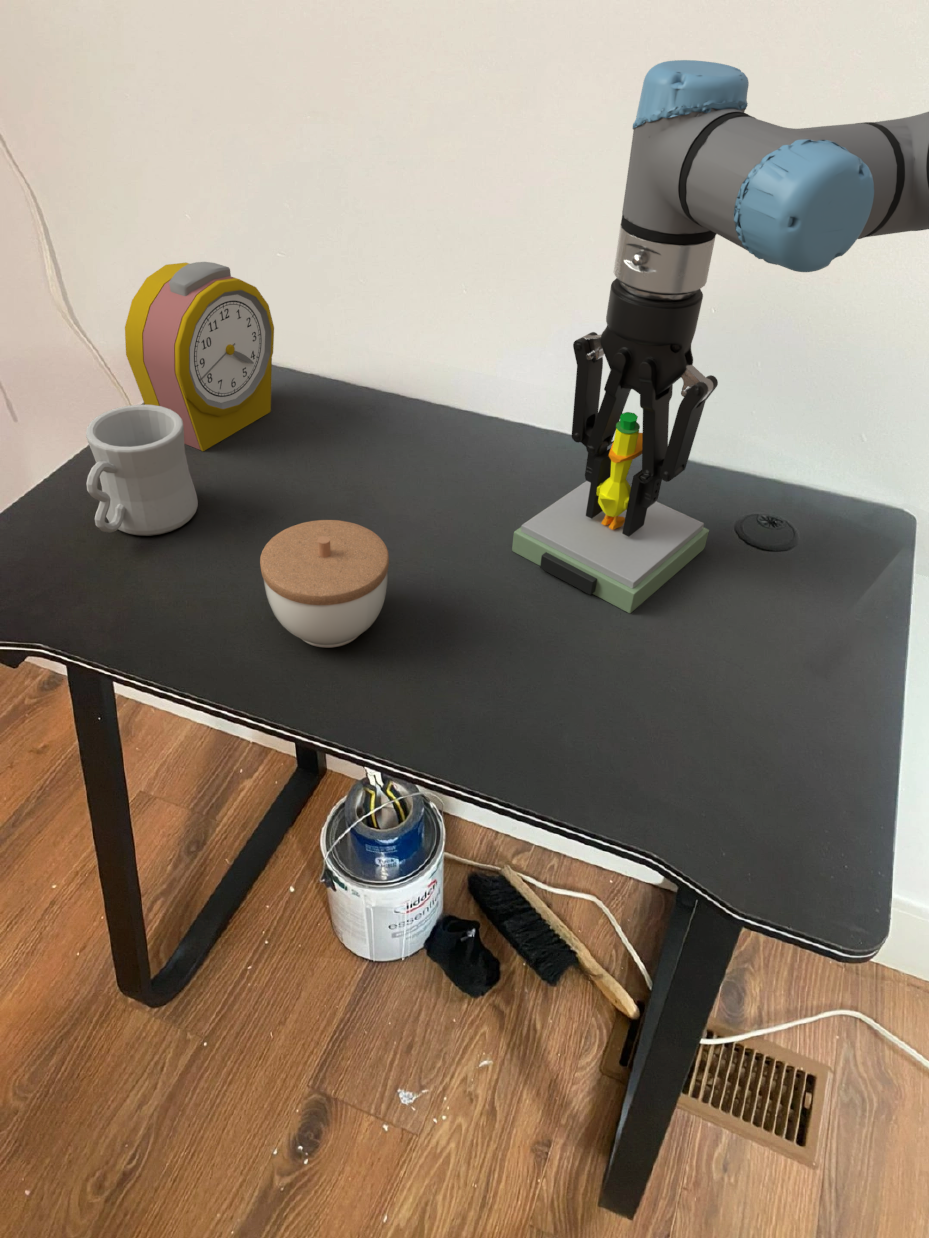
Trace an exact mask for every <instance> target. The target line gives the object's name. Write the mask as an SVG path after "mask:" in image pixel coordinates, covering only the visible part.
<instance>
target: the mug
mask: <svg viewBox="0 0 929 1238" xmlns="http://www.w3.org/2000/svg"><path fill="white" fill-rule="evenodd" d="M85 437H86V440H87V443H88V445H89V448H90V450H91V453H92V455H93V458H94V460H95V464H94V465H93V466H92V467H91V469H90V471H89V473H88V474H87V479H86V491H87V492H88V495H90V497H91V498H93V499H94V500H97V501H99V503H98V507H97V508H96V512H95V516H94V524H95V526H96V527H97V528H98V529H99V530H100V531H101V532H104V533H113V532H117V531H118V530H119V531H120V532H123V533H125V534H127V535H133V536H143V537H145V536H146V537H148V536H149V537H150V536H157V535H163V534H167V533H169V532H173V531H175V530H177V529H179V528H182V527H183V526H184V525H186V524H187V523H189V521H190V520H191V519H192V518H193V517H194V516H195V514H196V512H197V509H198V506H199V504H198V503H199V500H198V495H197V492H196V488H195V486H194V482H193V478H192V476H191V473H190V469H189V465H188V464H189V463H188V461H187V460H188V459H187V455H186V450H185V449H186V448H185V444H184V427H183V421H182V419H181V418H180V416H179V415H178V414H177V413H175V412H174V411H172V410H170V409H168V408H165V407H162V406H155V405H145V404H130V405H129V404H128V405H124V406H120V407H115V408H113V409H109V410H107V411H104V412H103V413H101V414H98V415H97V416H96V417H94V418H93V419H92V420H91V421H90V422H89V424H88V425H87V427H86V429H85ZM99 480H100V485H101V490H100V489H98V488H99V487H98V484H99ZM106 519H107V521H108V522H106Z"/></svg>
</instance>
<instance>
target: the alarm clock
mask: <svg viewBox="0 0 929 1238" xmlns="http://www.w3.org/2000/svg"><path fill="white" fill-rule="evenodd" d="M269 305H270V304H269V303H268V302H267V301H266V299H265V297H264V296H263V295H262V294H261V292H260V290H258V288H257V287H256V286H255V285H253V284H251V283H248V282H246V281H244V280H242V279H240V278H237V277H234V276H232V274H231V268H230V267H229V266H226V265H223V264H219V263H216V262H212V261H211V262H210V261H196V262H191V263H189V262H179V263H169V264H165V265H163V266H161V267H160V268H158V269H157V270H156V271H155V272H153V273H151V274H150V275H148V276H147V277H146V278H145V279H144V281H143V283H142V284H141V286H140V287H139V289H138V290H137V292H136V293H135V295H134V296H133V298H132V299H131V303H130V306H129V310H128V314H127V317H126V320H125V321H126V322H125V325H124V339H125V357H126V359H127V361H128V364H129V366H130V369H131V372H132V375H133V377H134V380H135V383H136V385H137V388H138V390H139V393H140V396H141V398H142V400H143V403H144V404H143V405H155V406H162V407H165V408H168V409H170V410H172V411H174V412H175V413H177V414H178V415H179V416H180V418H181V419H182V421H183V427H184V445H186V446H189V447H192V448H194V449H195V450H196V449H197V450H199V451H201V452H205V451H206V450H208V449H210V448H211V447H213V446H215V445H216V444H218V443H220V442H222V441H223V440H225V439H227V438H228V437H230V436H232V435H234V434H236V433H238V432H239V431H240V430H242V429H244V428H246V427H247V426H249V425H251V424H253V423H254V422H256V421H257V420H259V419H261V418H263V417H264V416H266V415H268V414H270V413H271V412H272V375H273V374H272V371H273V369H272V368H273V367H272V366H273V365H272V364H273V354H274V346H275V345H274V341H275V325H274V322H273V317H272V313H271V309H270V306H269Z"/></svg>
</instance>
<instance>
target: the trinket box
mask: <svg viewBox="0 0 929 1238" xmlns="http://www.w3.org/2000/svg"><path fill="white" fill-rule="evenodd" d="M259 564H260V565H259V566H260V571H261V572H260V573H261V576H262V578H263V584H264V589H265V595H266V598H267V602H268V604H269V606H270V608H271V611H272V613H273V616H274V617H275V618H276V619H277V621H278V623H279V624H280V625H281V626H282V627H283V628H284V629H285V630H286V631H287V632H289V634H291V635H293V636H294V637H296V638H298V639H300V640H302V641H303V642H304V643H306V644H308V645H311V646H314V647H318V648H337V647H342V646H345V645H347V644H349V643H352V642H353V641H354V640H356V639H357V638H358V637H359V636H360V635H361V634H363V633H364V632H366V631H367V630H368V629H369V628H371V626H372V625H373V624H374V623H375V622H376V620H377V618H378V617H379V615H380V613H381V611H382V608H383V606H384V603H385V600H386V595H387V588H388V579H389V575H388V574H389V573H388V572H389V567H390V556H389V549H388V547H387V544H385V542H384V541H383V539H382V538H381V537H380V536H379V535H378V534H376V533H375V532H374V531H372V530H371V529H369V528H367V527H365V526H362V525H360V524H358V523H354V522H350V521H345V520H340V519H339V520H338V519H318V520H310V521H305V522H301V523H298V524H296V525H292V526H289V527H287V528H285V529H283V530H281V531H280V532H278V533H277V534H275V535H274V536H273V537H271V539H269V541H268V542H267V543H266V544H265V546H264V548H263V549H262V551H261V554H260V558H259Z"/></svg>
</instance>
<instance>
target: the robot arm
mask: <svg viewBox="0 0 929 1238" xmlns="http://www.w3.org/2000/svg"><path fill="white" fill-rule="evenodd" d="M749 86H750V85H749V78H748V77H747V75H746V73H745V72H743V71H742V70H741V69H740V68H738V67H735V66H732V65H729V64H724V63H719V62H715V61H706V60H691V59H681V60H679V59H677V60H675V59H674V60H667V61H663V62H659V63H657V64H655V65H653V66H652V67H651V68H650V69H649V70H648V71H647V73H646V74H645V76H644V78H643V82H642V88H641V93H640V97H639V102H638V107H637V111H636V116H635V120H634V122H633V123H632V131H633V133H632V138H631V139H632V140H631V145H630V152H629V153H630V154H629V159H628V167H627V168H628V169H627V175H626V182H625V190H624V197H623V204H622V210H621V221H620V225H619V232H618V237H617V245H616V252H615V259H614V266H613V274H614V277H615V279H614V280H613V281H612V282H611V284H610V290H609V295H608V301H607V310H606V318H605V322H606V327H605V329H603V331H602V332H601V334H598V333H597V332H595V331H592V332H589V333H587V334H585V335H583V336H581V337H579V338H578V339H576V340H574V342H573V343H572V348H573V353H574V358H575V362H576V374H575V375H576V376H575V386H574V389H575V390H574V398H573V399H574V400H573V413H572V423H571V425H572V426H571V438H572V441H574V442H575V443H577V444H578V443H581V444H582V445H584V447H585V448H586V452H587V458H586V464H585V465H586V466H585V471H584V478H585V482H586V481H588V482H590V483H591V485H590V491H589V497H588V504H587V510H586V516H587V517H589V518H591V519H592V518H594V517H595V516H596V515H598V514H599V513H601V512H602V511H603V510H602V508H601V507H600V505H599V503H598V499H599V496H597V493H596V492H597V487H598V486H599V484H600V483H603V482H604V481H606V480H607V479H608V478H609V477H610V476H611V459H610V457H609V452H610V449H611V447H610V448H609V446H612V443H613V442H614V437H615V432H616V424H617V423H618V422H619V421H620V416H621V414H622V413H624V410H625V406H626V404H627V402H628V399H629V397H630V393H631V390H633V391H635V392H636V393H637V394H639V407H640V408H641V409H642V433H643V434H642V454H641V470H639V471H638V472H637V473H635V474H633V476H632V481H631V485H630V486H631V491H630V496H629V501H628V506H627V511H626V517H625V522H624V527H623V532H622V534H624V535H626V536H628V537H629V536H630V535H632V534H633V533H634V532H636V531H637V530H638V529H639V528H641V527H642V526H643V525H644V522H645V517H646V512H647V508H649V507H650V506H651V505H652V504H654V503H655V502H658V500H659V496H660V495H659V494H660V490H661V487H662V481H664V482H667V483H668V482H670V481H672V480H674V479H676V477H677V476H679V475H680V474H681V473H682V472H684V471H685V470H686V469H687V468H686V467H687V464H688V462H689V458H690V455H691V451H692V447H693V445H694V442H695V438H696V435H697V431H698V427H699V424H700V421H701V418H702V414H703V411H704V407H705V405H706V402H707V400H708V399H709V397H710V396H711V395H712V394H713V393H714V391H715V390H716V389H717V387H718V385H719V380H718V379H717V377H716V376H714V375H711V374H710V375H707V376H705V375H704V374H703V373H702V372H701V371H699V370H698V368H697V367H695V366H694V357H693V352H692V343H693V340H694V337H695V334H696V331H697V325H698V321H699V317H700V312H701V308H702V304H703V298H704V294H703V291H702V288H703V287H705V286H706V284H707V282H708V278H709V277H708V276H709V272H710V267H711V262H712V256H713V251H714V247H715V240H716V236H717V235H718V236H720V237H722V238H724V239H726V241H729V242H731V243H733V244H735V245H737V246H738V247H740V248H742V249H744V250H745V251H747V252H748V253H749V254H751V255H753V256H754V257H755V258H756V259H758V260H763V261H764V262H765V263H768V264H771V265H775V266H780V267H783V268H785V269H787V270H790V271H793V272H797V273H813V272H818V271H820V270H823V269H824V268H827V267H829V266H830V264H831V263H832V261H833V260H835V259H836V258H838V257H842V256H844V255H845V254H846V253H847V252H849V250H850V249H851V248H852V247H853V246H854V244H855V243H856V242H857V240H861V239H864V238H870V237H878V236H884V235H885V236H886V235H893V234H900V233H906V232H920V231H927V230H929V111H926V112H923V113H919V114H916V115H911V116H906V117H901V118H894V119H887V120H880V121H866V122H865V121H863V122H856V123H846V124H835V125H822V126H812V127H802V128H793V127H792V128H791V127H784V126H780V125H778V124H775V123H771V122H768V121H765V120H762V119H758V118H756V117H754V116H752V115H750V114H748V113H746V110H747V107H748V105H749V103H748V101H747V100H748V92H749ZM604 357H605V359H606V362H607V365H608V368H609V370H610V371H609V372H608V373H609V374H608V376H607V379H606V381H605V384H604V389H603V390H604V395H603V398H602V401H601V403H600V397H601V388H602V378H603V377H602V376H603V369H604ZM680 379H682V382H683V384H682V388H681V391H680V395H681V396H682V397H683V398H682V400H681V401H680V403H679V406H678V409H677V411H676V416H675V419H674V422H673V426H672V429H671V434H670V437H669V419H670V401H671V399H672V397H673V388H674V387H673V385H674V384H675V383H677V382H678V381H679V380H680Z"/></svg>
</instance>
